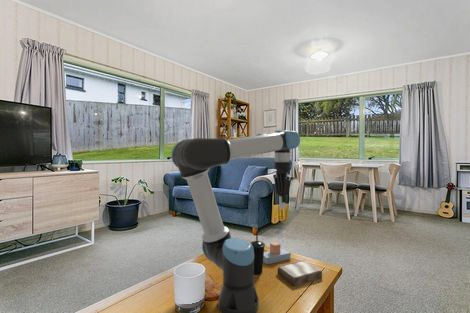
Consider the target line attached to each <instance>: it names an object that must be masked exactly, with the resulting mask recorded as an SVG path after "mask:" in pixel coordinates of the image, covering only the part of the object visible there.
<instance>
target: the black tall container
mask: <svg viewBox="0 0 470 313" xmlns="http://www.w3.org/2000/svg"><path fill="white" fill-rule="evenodd" d="M255 233H256V234H255V235H256V236H255V240H253V241H249V242H250V243H251V244H252V246H253V249H254V276H255V275H258V276H259V275H262V274H263V268H264V267H263V265H264V262H263V257H264V252H265V247H266V244H265V243H264V242H263V241H260V240H258V237H259V235H258V234H259V231H258V230H256V231H255Z"/></svg>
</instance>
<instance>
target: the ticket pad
mask: <svg viewBox="0 0 470 313" xmlns="http://www.w3.org/2000/svg"><path fill="white" fill-rule="evenodd" d="M277 275H278V276H279V277H281V278H282V279H283V280H285V281H286V282H288V283H289V284H290V285H291V286H293V287H297V286H300V285H303V284H308V283H311V282H313V281H317V280H321V278H322V279H323V271H322V270H321V269H319V268H317V267H316V266H314V265H312V264H310V263H309V262H308V261H306V260H305V259H304V260H300V261H296V262H292V263H288V264H283V265H279V266H278V267H277Z"/></svg>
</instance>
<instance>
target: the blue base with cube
mask: <svg viewBox="0 0 470 313" xmlns="http://www.w3.org/2000/svg"><path fill="white" fill-rule="evenodd" d="M291 256H292V255H291V252H290V251H288V250H287V249H284V248H281V243H279V242H277V241H273V242H269V250H268V251H264V257H263V264H266V265H270V264H275V263H278V262H283V261H288V260H289V261H290V260H291Z"/></svg>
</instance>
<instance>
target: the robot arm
mask: <svg viewBox="0 0 470 313" xmlns="http://www.w3.org/2000/svg"><path fill="white" fill-rule="evenodd" d="M300 143H301V136H300V133H299V132H297V131H295V130H286V129H285V130H283V129H282V130H281V129H278V130H275V131H274V132H270V133H265V132H264V133H263V132H261V133H257V134H256V135H252V136H251V135H250V136H245V137H243V136H242V137H238V138H231V139H227V138H225V137H216V138H215V137H213V138H207V137H205V138H203V137H197V138H195V137H194V138H187V139H183V140H181V141H178V142H177V143H176V144H175V145H174V146H173V148H172V150H171V154H170V155H171V156H170V157H171V161H172V163H173V164H174V165H175V167H177V169H178V171H179V174H180V177H181V178H182V179H184V180H186V182H187V185H188V188H189V189H188V190H189V193H190V195H191V197H192V200H193V204H194V207H195V209H196V213H197V215H198V218H199V222H200V225H201V228H202V231H203V234H202V236H201V239H202V243H201V249H202V253H203V254H204V256H205V257H206V259H207V260H209V261H211V262H212V264H214V265H215V266H217V267H218V268H219V269H220V270H222V286H221V289H220V293H219V296H218V299H217V300H218V309H219V311H220V312H221V313H257V311H258V310H259V306H260V303H259V301H260V300H259V299H260V298H259V296H258V293H257V291H256V287H255V274H254V249H253V246H252V244H251V243H250V242H251V241H249V240H247V239H246V238H240V237H232V236H231V232H230V229H229V227H227V226H225V225H224V223H223V220H222V216H221V214H220V210H219V207H218V203H217V201H216V200H217V199H216V197H215V193H214V190H213V187H212V184H211V181H210V177H209V175H208V173H209V171H210V169H212V168H215V167H218V166H222V165H226V164H228V163H230V161H233V160H238V159H242V158H246V157H247V158H248V157H252V156H256V155H263V154H268V153H271V152H274V170H276V171H275V174H273V176H272V177H273V180H274V187H275V194H277V195H278V208H279V210H286V203H287V196H290V189H291V184H292V180H293V176H292V175H289V174H290V173H289V170H290V169H291V162H290V160H291V155H290V154H291V150H292V149H293V150H294V149H297V148H298V147H299V146H300Z"/></svg>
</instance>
